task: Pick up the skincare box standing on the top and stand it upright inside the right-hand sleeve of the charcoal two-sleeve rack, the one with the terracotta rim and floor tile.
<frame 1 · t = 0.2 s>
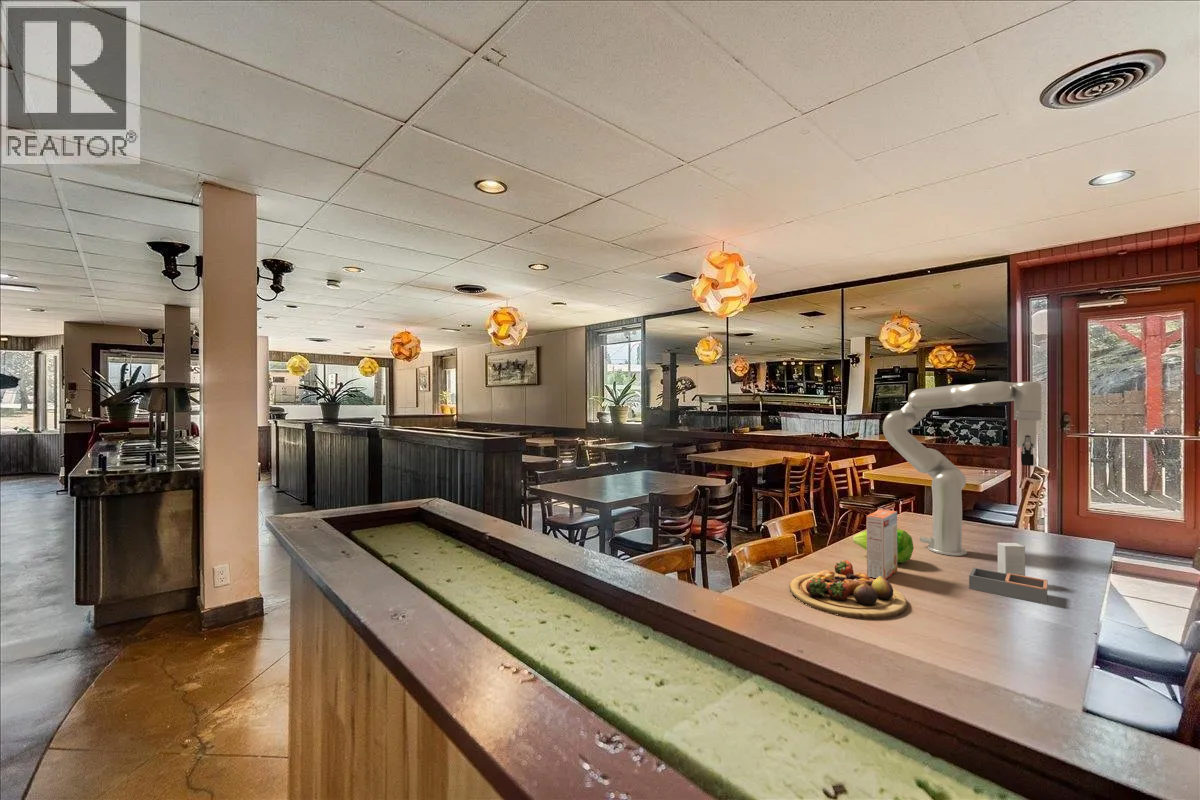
hand: (1027, 463, 185), 36 cm above the table, tool pointing down, fingers open, 9 cm apart
sleeve rack: (1007, 591, 160), on the table
lettuce: (882, 559, 191), on the table
wooden plate with food: (845, 598, 156), on the table
cracker box: (881, 574, 175), on the table
skincare box: (1010, 581, 170), on the table
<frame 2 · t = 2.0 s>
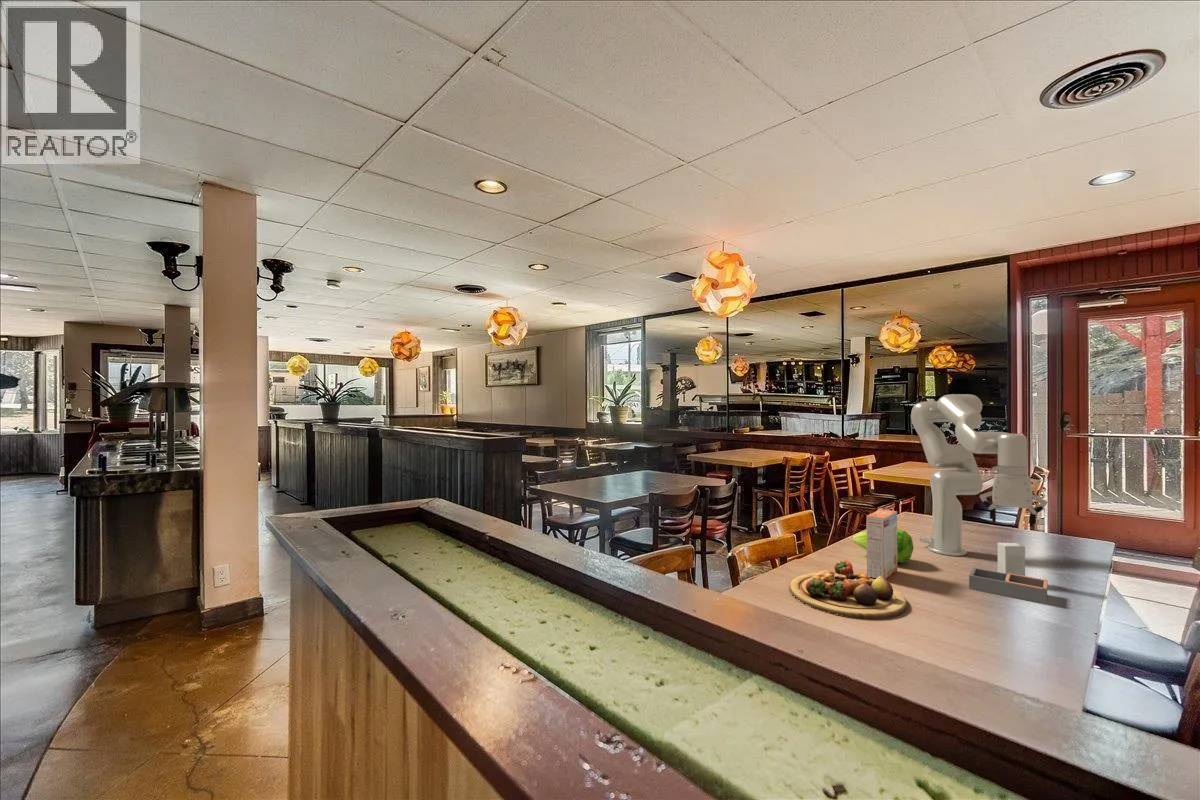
hand: (1012, 523, 169), 19 cm above the table, tool pointing down, fingers open, 9 cm apart
nothing on the table moved.
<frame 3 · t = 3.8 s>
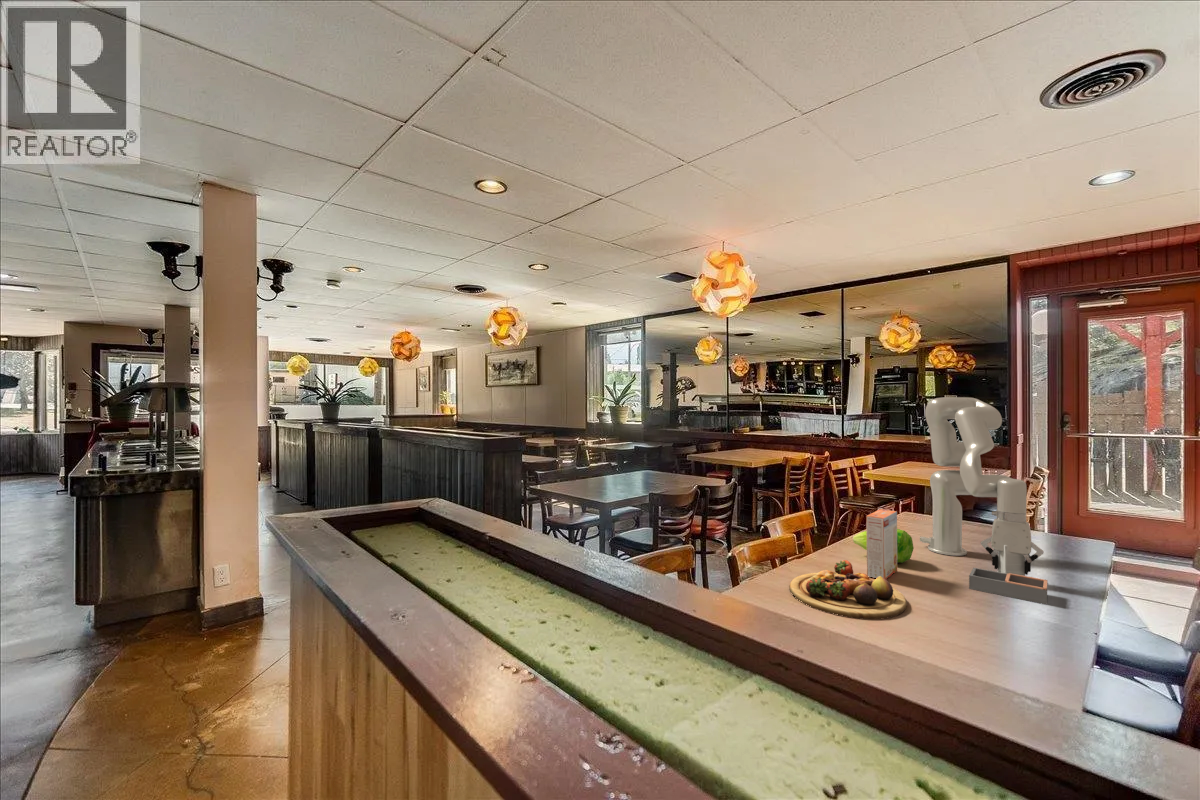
hand: (1011, 570, 169), 3 cm above the table, tool pointing down, fingers closed on skincare box, 7 cm apart
skincare box: (1010, 581, 170), on the table, touching gripper
everything else where it was.
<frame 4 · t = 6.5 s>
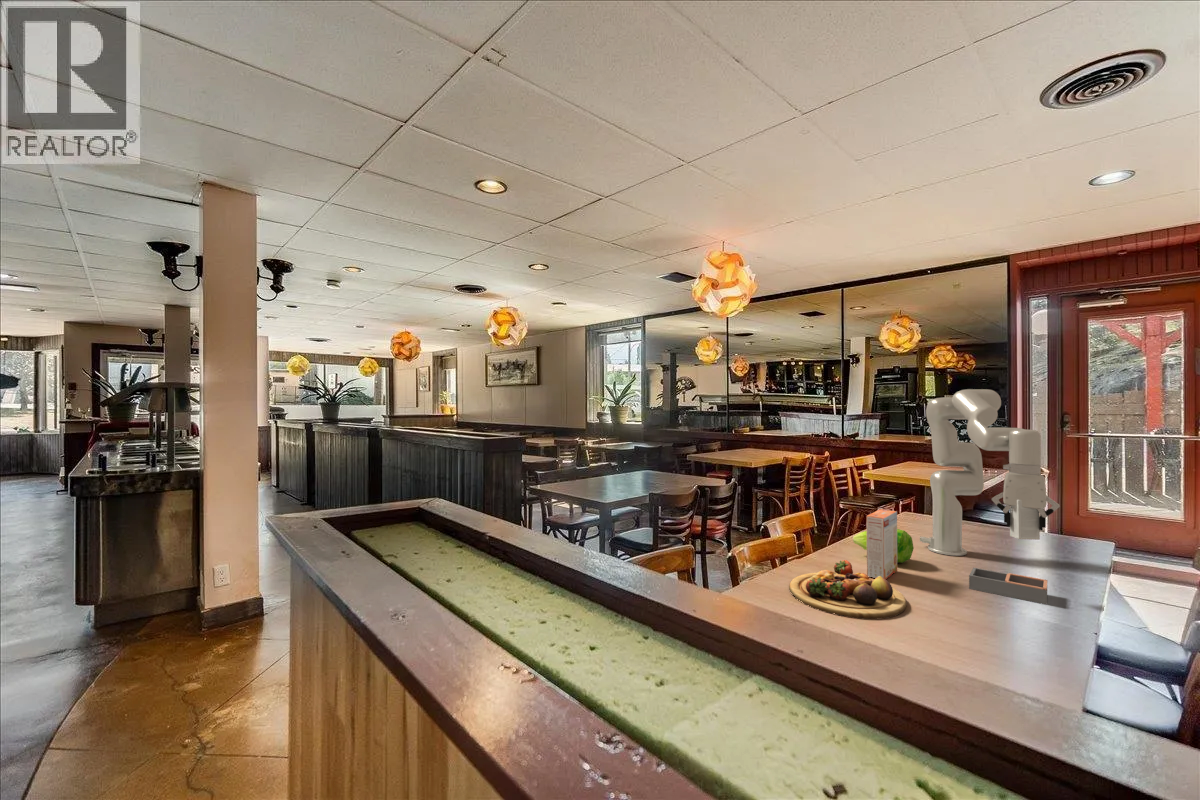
hand: (1024, 527, 159), 20 cm above the table, tool pointing down, fingers closed on skincare box, 7 cm apart
skincare box: (1024, 538, 159), point 17 cm above the table, touching gripper
everything else where it was.
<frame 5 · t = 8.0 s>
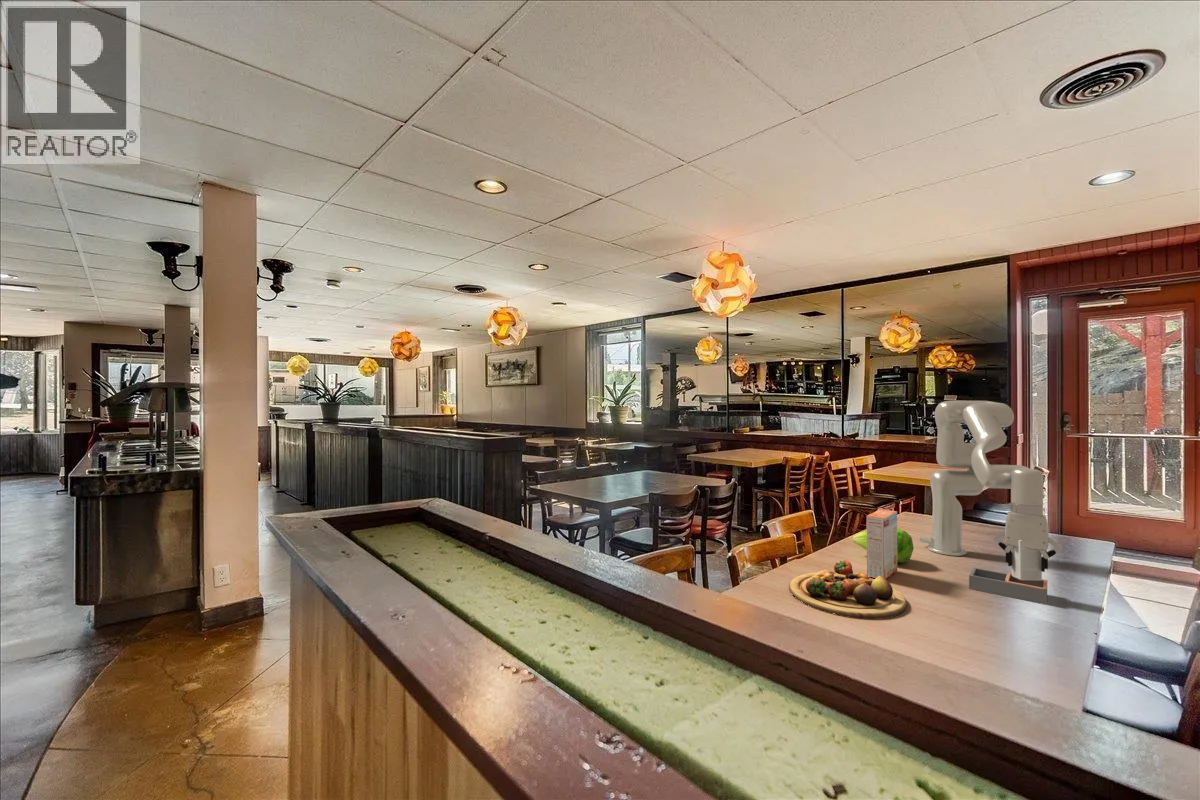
hand: (1026, 567, 157), 8 cm above the table, tool pointing down, fingers closed on skincare box, 7 cm apart
skincare box: (1026, 579, 157), point 5 cm above the table, touching gripper
everything else where it was.
when the fingers open (6 cm above the table, at t = 9.1 s): skincare box drops 2 cm, resting on sleeve rack.
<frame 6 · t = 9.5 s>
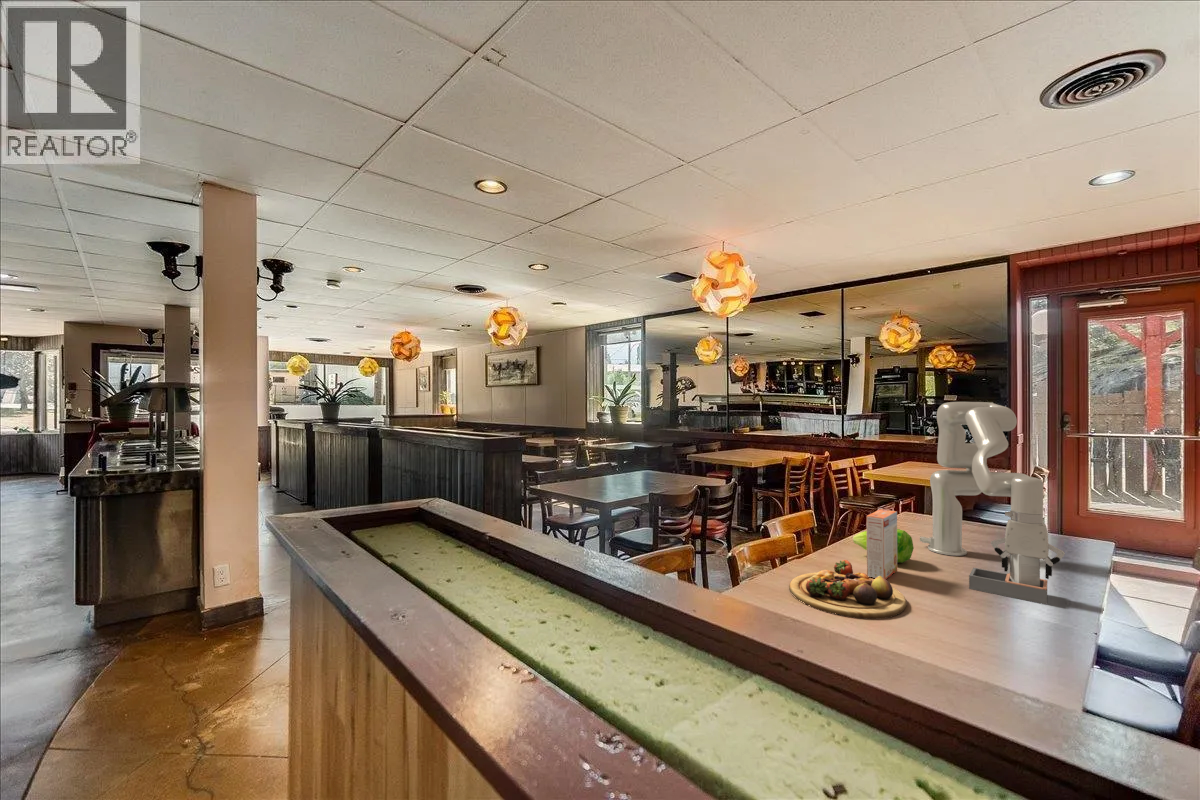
hand: (1026, 574, 157), 6 cm above the table, tool pointing down, fingers open, 9 cm apart
skincare box: (1024, 592, 157), point 1 cm above the table, touching sleeve rack
everything else where it was.
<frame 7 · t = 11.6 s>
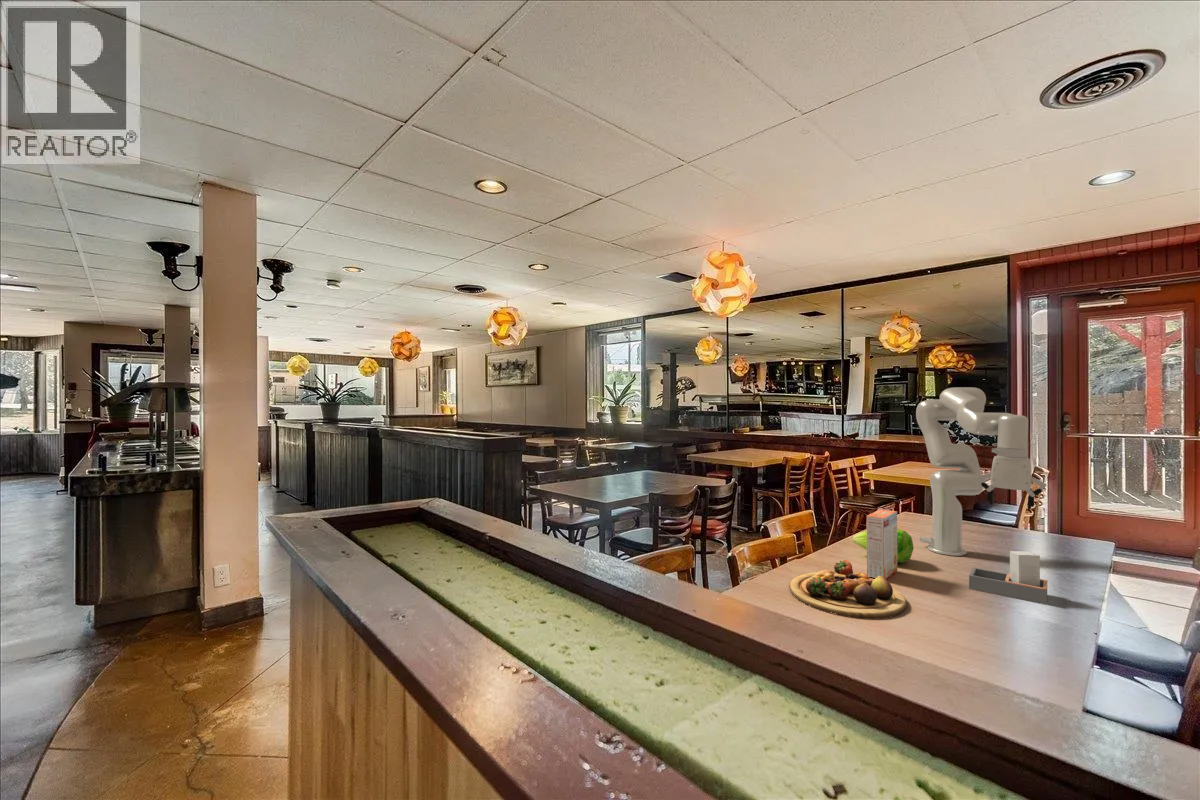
hand: (1010, 505, 167), 25 cm above the table, tool pointing down, fingers open, 9 cm apart
nothing on the table moved.
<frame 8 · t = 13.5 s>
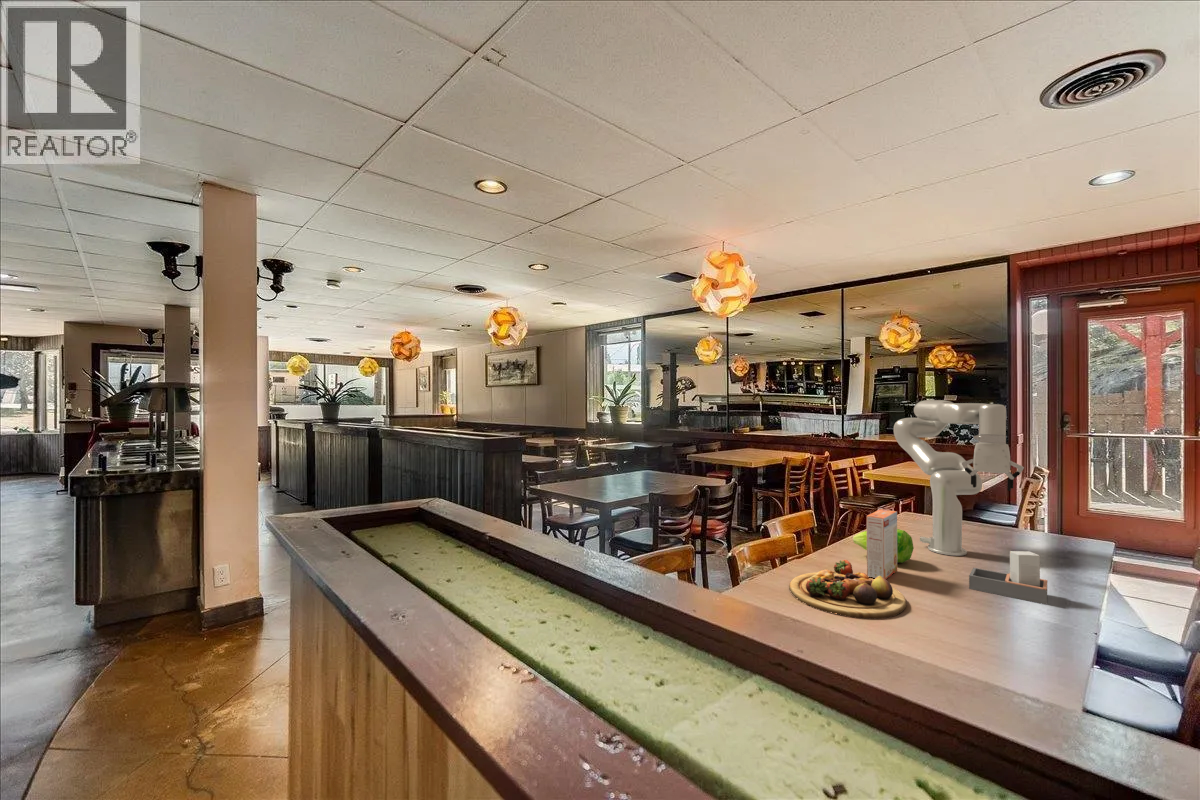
hand: (991, 488, 180), 28 cm above the table, tool pointing down, fingers open, 9 cm apart
nothing on the table moved.
at the end: skincare box 0.4 cm from the target spot on the sleeve rack, point 0.6 cm above the sleeve rack's base; skincare box tilted 0°; the gripper is holding nothing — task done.
